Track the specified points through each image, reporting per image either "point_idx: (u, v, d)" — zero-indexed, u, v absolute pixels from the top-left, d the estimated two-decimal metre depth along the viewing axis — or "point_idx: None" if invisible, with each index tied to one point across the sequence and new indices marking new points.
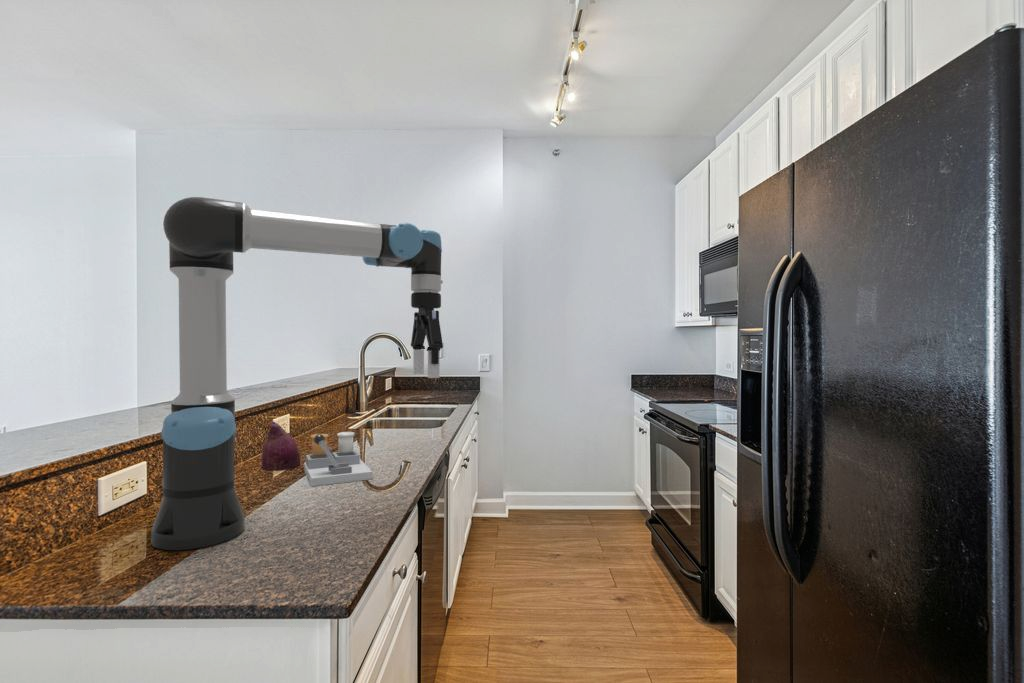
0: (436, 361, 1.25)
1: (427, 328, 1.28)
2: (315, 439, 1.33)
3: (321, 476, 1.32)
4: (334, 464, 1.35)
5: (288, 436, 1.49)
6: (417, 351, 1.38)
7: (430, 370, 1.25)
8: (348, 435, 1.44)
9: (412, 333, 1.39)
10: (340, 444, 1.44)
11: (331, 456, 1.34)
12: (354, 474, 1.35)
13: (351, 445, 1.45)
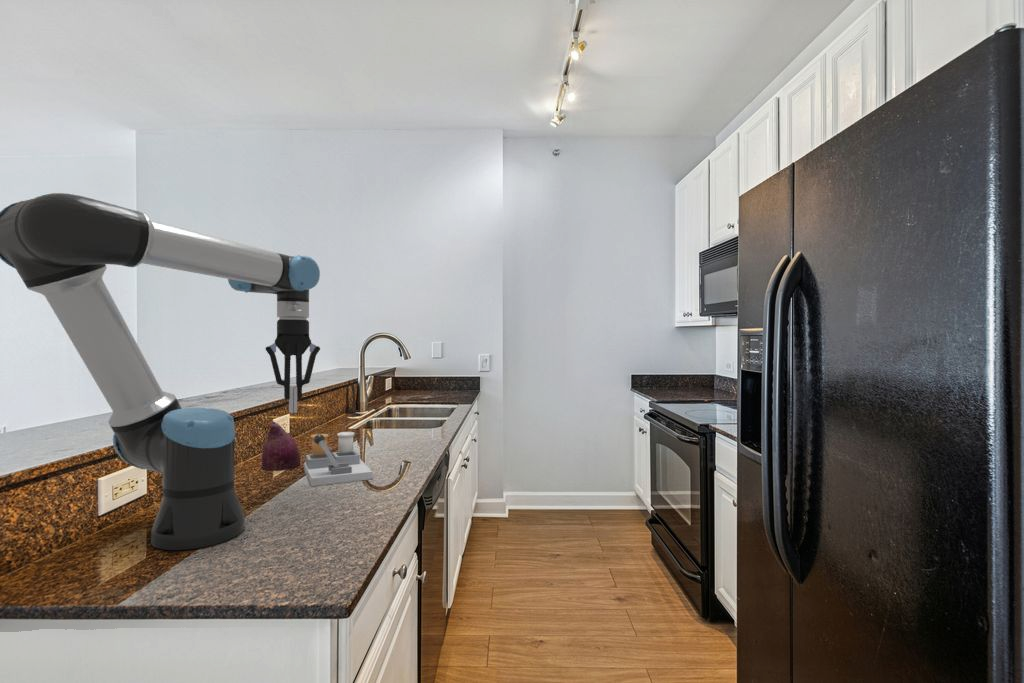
0: (284, 396, 1.30)
1: None
2: (315, 439, 1.33)
3: (321, 476, 1.32)
4: (334, 464, 1.35)
5: (288, 436, 1.49)
6: (293, 388, 1.32)
7: (289, 404, 1.32)
8: (348, 435, 1.44)
9: None
10: (340, 444, 1.44)
11: (331, 456, 1.34)
12: (354, 474, 1.35)
13: (351, 445, 1.45)
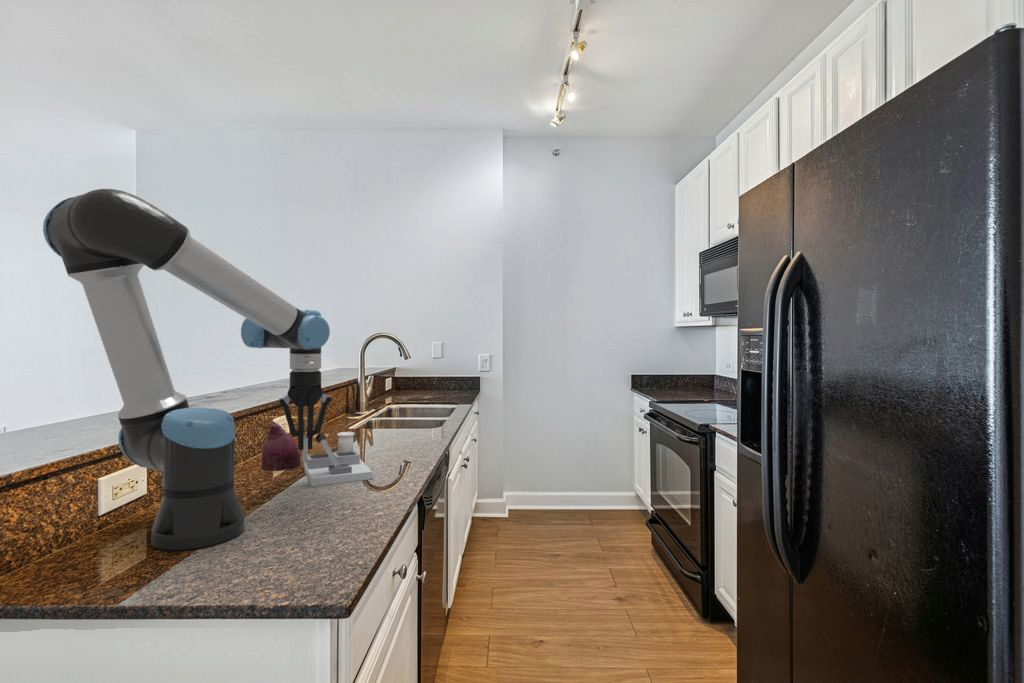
0: None
1: None
2: (317, 438, 1.33)
3: (321, 476, 1.32)
4: (334, 464, 1.35)
5: (288, 436, 1.49)
6: None
7: None
8: (348, 435, 1.44)
9: None
10: (340, 444, 1.44)
11: (332, 456, 1.34)
12: (354, 474, 1.35)
13: (351, 445, 1.45)
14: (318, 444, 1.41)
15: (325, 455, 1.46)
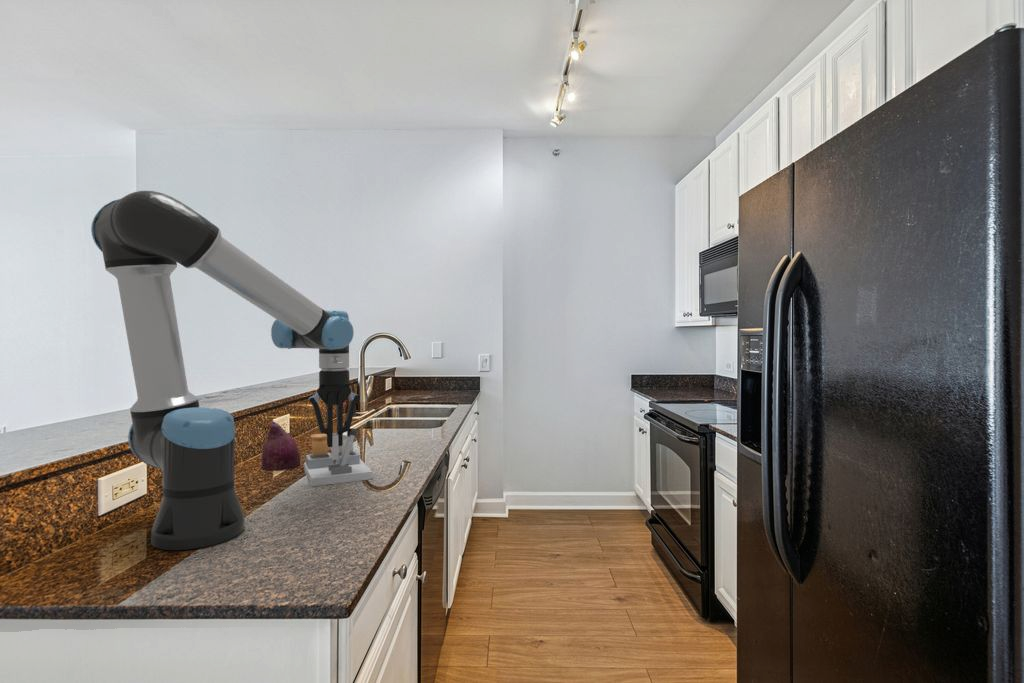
0: (327, 444, 1.36)
1: (326, 409, 1.36)
2: (350, 430, 1.37)
3: (321, 476, 1.32)
4: (343, 461, 1.36)
5: (288, 436, 1.49)
6: None
7: (331, 451, 1.37)
8: None
9: None
10: None
11: (347, 453, 1.36)
12: (354, 474, 1.35)
13: None
14: (318, 444, 1.41)
15: (325, 455, 1.46)
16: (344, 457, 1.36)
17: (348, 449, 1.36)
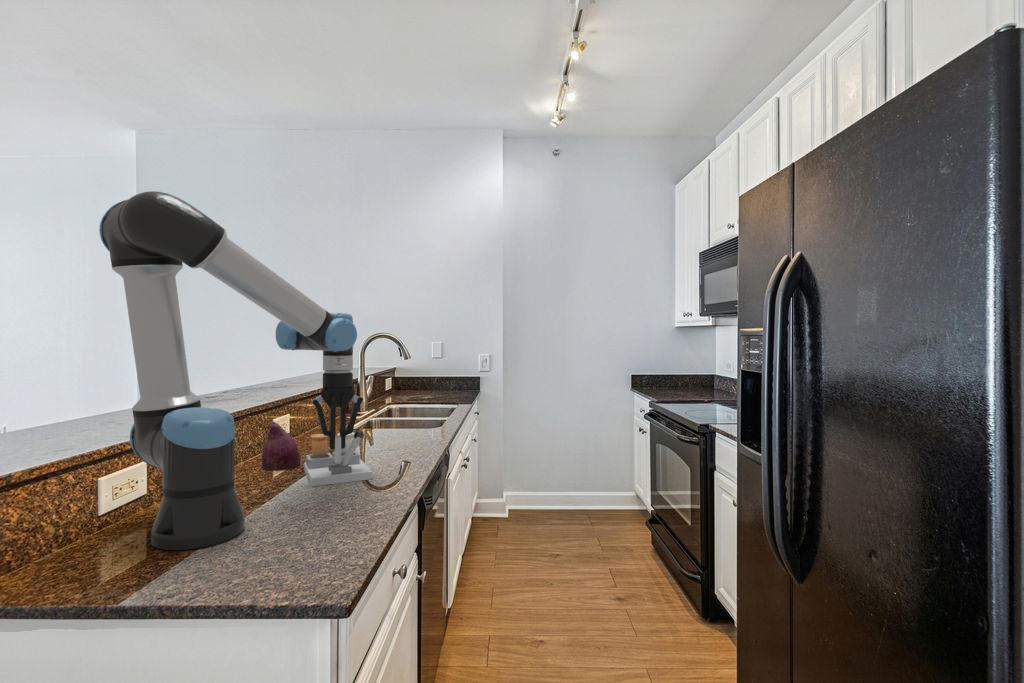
0: (330, 446, 1.35)
1: None
2: (357, 432, 1.38)
3: (321, 476, 1.32)
4: (345, 462, 1.36)
5: (288, 436, 1.49)
6: None
7: None
8: (348, 435, 1.44)
9: None
10: None
11: (351, 455, 1.37)
12: (354, 474, 1.35)
13: None
14: (318, 444, 1.41)
15: (325, 455, 1.46)
16: (347, 458, 1.36)
17: (352, 450, 1.37)
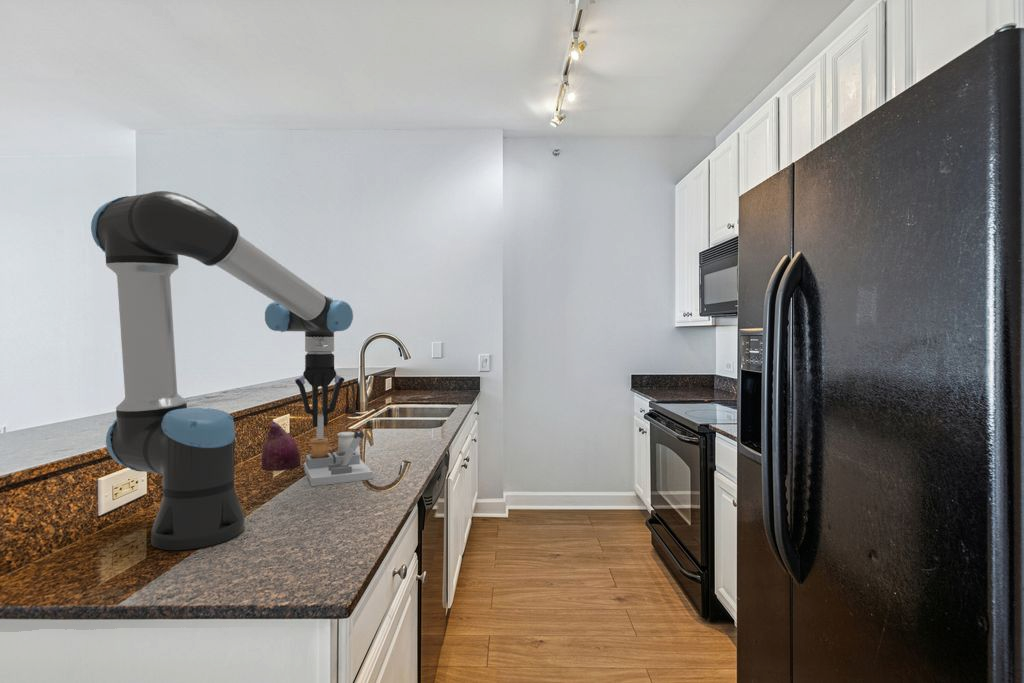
0: (313, 424, 1.42)
1: (312, 391, 1.43)
2: (357, 432, 1.38)
3: (321, 476, 1.32)
4: (345, 462, 1.36)
5: (288, 436, 1.49)
6: None
7: None
8: (348, 435, 1.44)
9: None
10: (340, 444, 1.44)
11: (351, 455, 1.37)
12: (354, 474, 1.35)
13: None
14: (318, 448, 1.41)
15: None
16: (347, 458, 1.36)
17: (352, 450, 1.37)
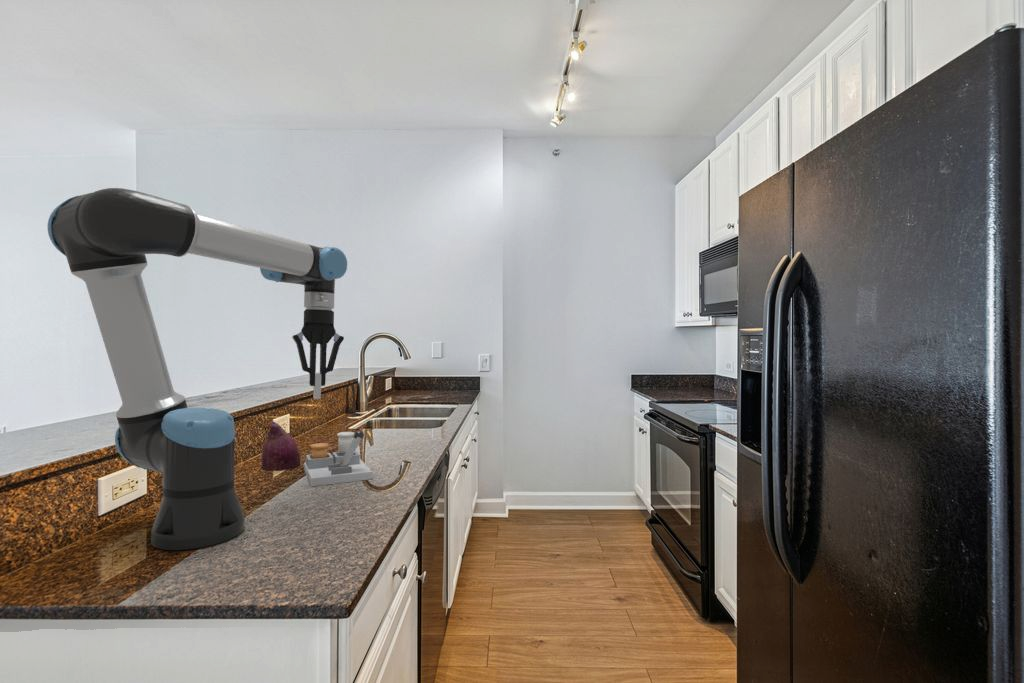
0: (310, 383, 1.36)
1: (310, 349, 1.37)
2: (357, 432, 1.38)
3: (321, 476, 1.32)
4: (345, 462, 1.36)
5: (288, 436, 1.49)
6: None
7: (313, 391, 1.38)
8: (348, 435, 1.44)
9: None
10: (340, 444, 1.44)
11: (351, 455, 1.37)
12: (354, 474, 1.35)
13: None
14: (318, 454, 1.41)
15: None
16: (347, 458, 1.36)
17: (352, 450, 1.37)
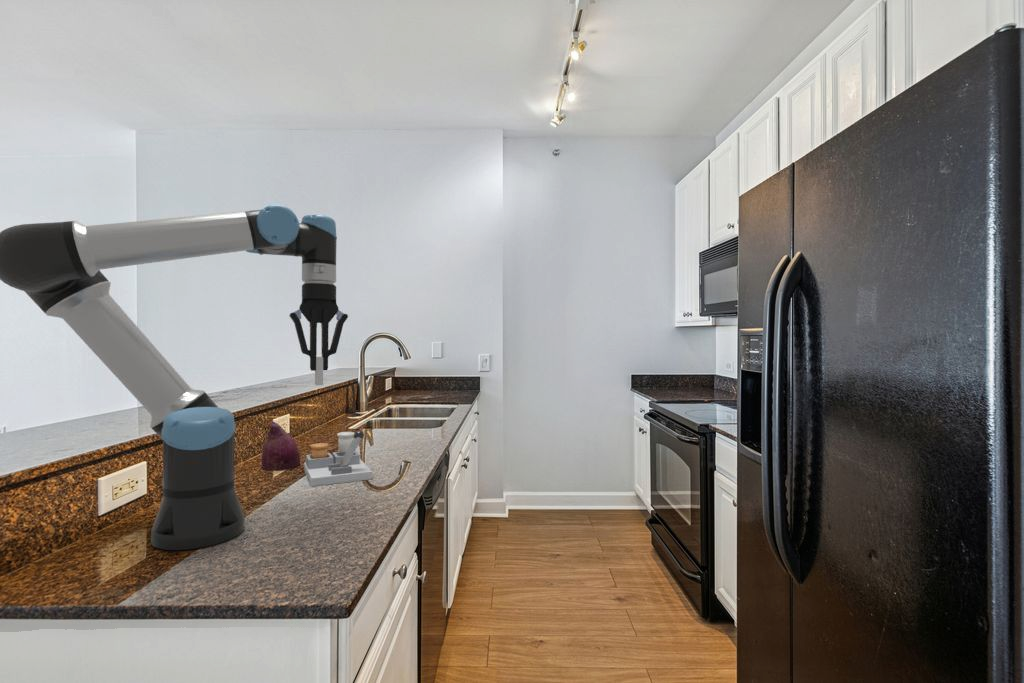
0: (310, 367, 1.20)
1: (310, 328, 1.21)
2: (357, 432, 1.38)
3: (321, 476, 1.32)
4: (345, 462, 1.36)
5: (288, 436, 1.49)
6: None
7: (315, 376, 1.21)
8: (348, 435, 1.44)
9: None
10: (340, 444, 1.44)
11: (351, 455, 1.37)
12: (354, 474, 1.35)
13: None
14: (318, 454, 1.41)
15: None
16: (347, 458, 1.36)
17: (352, 450, 1.37)
